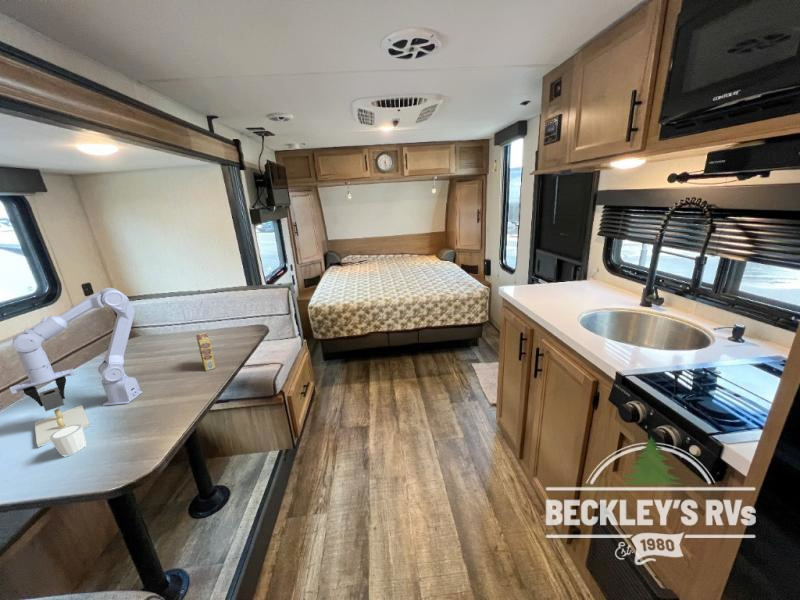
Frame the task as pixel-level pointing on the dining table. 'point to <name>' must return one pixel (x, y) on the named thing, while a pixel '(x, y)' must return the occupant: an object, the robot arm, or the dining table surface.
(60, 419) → the housing base
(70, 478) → the dining table surface
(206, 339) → the candy box
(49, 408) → the grey hollow block
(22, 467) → the dining table surface
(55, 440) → the white faceted cup
